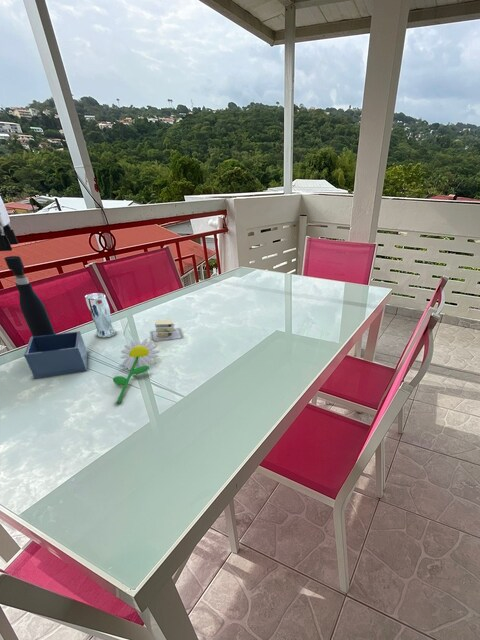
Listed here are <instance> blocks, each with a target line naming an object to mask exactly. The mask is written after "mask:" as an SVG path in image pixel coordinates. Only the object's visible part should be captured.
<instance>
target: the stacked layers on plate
mask: <svg viewBox="0 0 480 640" xmlns="http://www.w3.org/2000/svg"><path fill="white" fill-rule="evenodd" d="M153 322H154V326H155V331H152V332H151V333H152V338H153V342H159V341H168V340H175V339H182V336H181V335H182V334H181V331H180V329H179V328H176V329H175V327H176V326H175V324H174V323H175V321H174V320H173V319H171V318H162V319H155V320H153Z"/></svg>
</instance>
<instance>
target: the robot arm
mask: <svg viewBox="0 0 480 640" xmlns="http://www.w3.org/2000/svg"><path fill="white" fill-rule="evenodd" d="M10 219H11V218H10V215H9V213H8V210H7V207H6V205H5V203H4V200H3V199H2V196H1V195H0V252H11V251H13V248H12V245H18V244H19V241H18V239H17V236H16V234H15V231H14V229H13V226H12V225H11V223H10V222H11V220H10Z"/></svg>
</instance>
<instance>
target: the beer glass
mask: <svg viewBox="0 0 480 640" xmlns="http://www.w3.org/2000/svg"><path fill="white" fill-rule="evenodd" d="M84 299H85V304H86V308H87V311H88V313H89V316H90V317H91V319H92V321H93V323H94V325H95V328H96V333H97V337H99V338H111V337H114V336H115V335H116V331H115V329H114V326H113V325H112V324H113V323H112V317H111V309H110V305H109V302H108V300H107V296H106V294H105V293H102V292H93V293H88V294H85V295H84Z"/></svg>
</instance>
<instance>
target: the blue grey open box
mask: <svg viewBox="0 0 480 640" xmlns="http://www.w3.org/2000/svg"><path fill="white" fill-rule="evenodd" d="M23 356H24V359H25V361H26V363H27V365H28V368H29V369H30V371H31V373H32V376H33V378H34V379H41V378H48V377H49V378H50V377H55V376H61V375H67V374H74V373H80V372H86V371H87V367H88V366H87V365H88V349H87V347H86V344H85V342H84V338H83V336H82V333H81V330H79V331H69V332H61V333H55V334H51V335H42V336H30V338H29V341H28V343H27V346H26V348H25V351H24V353H23Z"/></svg>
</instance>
